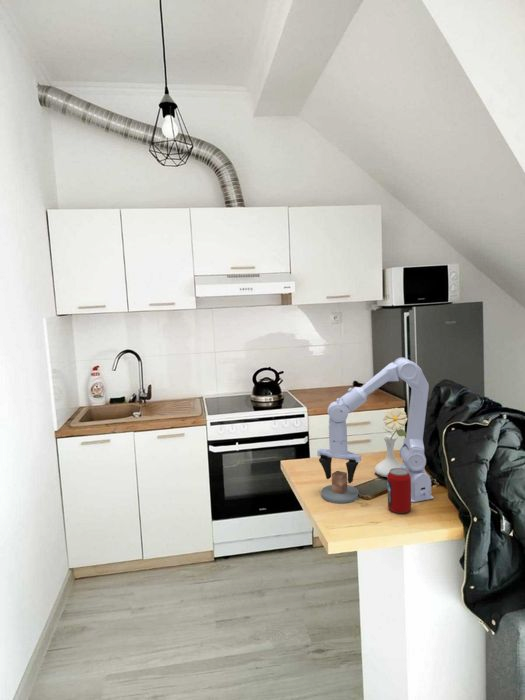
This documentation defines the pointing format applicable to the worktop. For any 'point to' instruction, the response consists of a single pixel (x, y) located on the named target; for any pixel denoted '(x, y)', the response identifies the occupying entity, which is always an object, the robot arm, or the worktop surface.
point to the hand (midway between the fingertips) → (339, 480)
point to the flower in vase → (391, 440)
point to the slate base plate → (339, 495)
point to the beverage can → (399, 490)
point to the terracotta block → (339, 482)
